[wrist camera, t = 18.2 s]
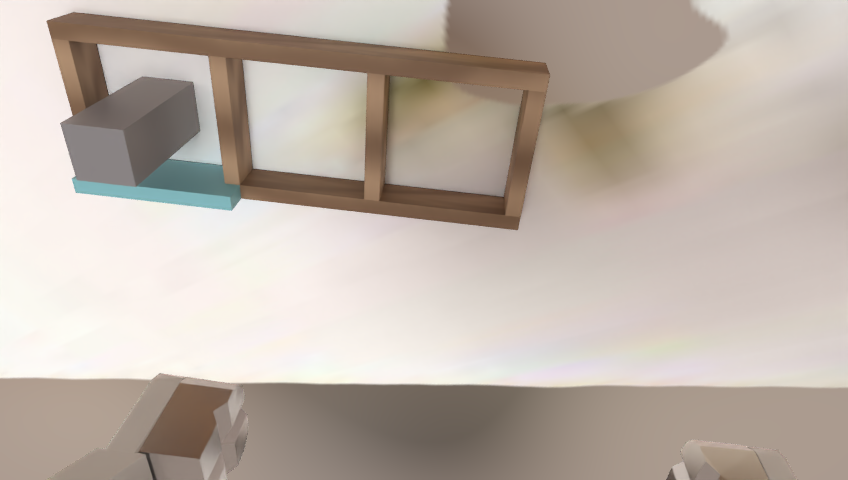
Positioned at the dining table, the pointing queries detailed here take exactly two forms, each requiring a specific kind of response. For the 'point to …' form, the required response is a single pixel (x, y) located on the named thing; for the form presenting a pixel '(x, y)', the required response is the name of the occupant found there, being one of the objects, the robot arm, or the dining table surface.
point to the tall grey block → (131, 131)
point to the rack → (229, 47)
